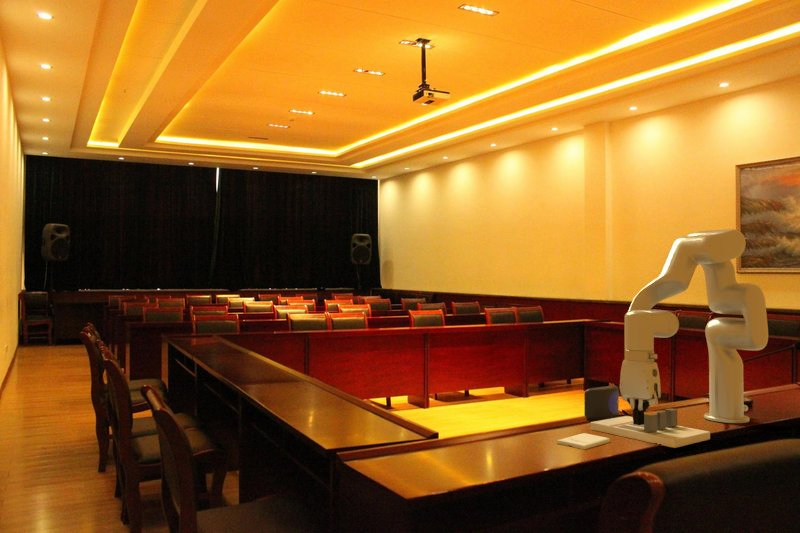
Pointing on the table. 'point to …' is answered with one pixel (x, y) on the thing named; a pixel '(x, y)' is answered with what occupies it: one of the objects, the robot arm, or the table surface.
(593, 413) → the dark olive rounded block
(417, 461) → the table surface
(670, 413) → the breaker handle
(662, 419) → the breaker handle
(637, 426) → the white flat board
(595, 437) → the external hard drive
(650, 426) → the handle
